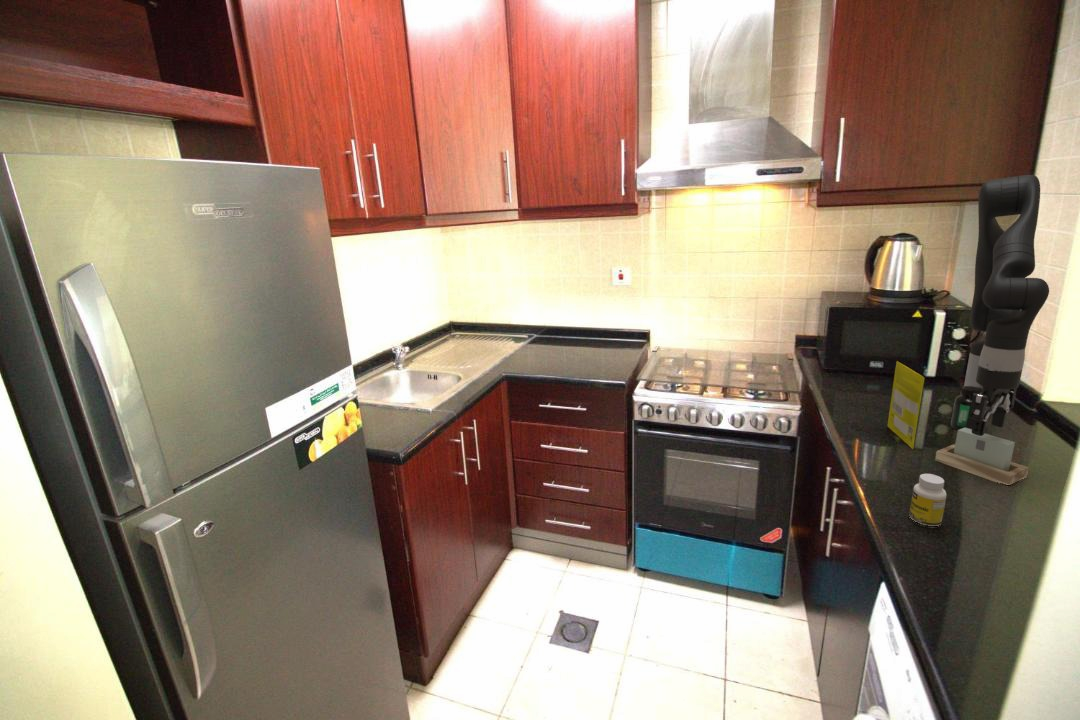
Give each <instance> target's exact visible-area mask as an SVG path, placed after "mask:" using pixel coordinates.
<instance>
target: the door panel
mask: <svg viewBox="0 0 1080 720" xmlns="http://www.w3.org/2000/svg"><path fill="white" fill-rule="evenodd" d="M955 438H956V439H955V443H954V444H955V449H954V454H956V455H959V456H962V457H965V458H968V459H971V460H974V461H977V462H980V463H983V464H986V465H989V466H992V467H995V468H998V469H1000V470H1003V471H1006V472H1009V468H1010V463H1011V462H1012V458H1013V454H1014V449H1015V444H1016V442H1015V441H1012V440H1009V439H1005V438H1002V437H999V436H995V435H991V434H989V433H984V435H983V436H979V435H975V434H973V433H972V429H968V428H962V429H960V430H957V433H956V437H955Z"/></svg>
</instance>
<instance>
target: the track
mask: <svg viewBox="0 0 1080 720" xmlns="http://www.w3.org/2000/svg"><path fill="white" fill-rule="evenodd" d="M954 449H955V443H953V444H951V445H948V446H946V447H943V448H941V449H938V450H937V451H936V453H935V459H934V461H935V462H939V463H941V464H944V465H946V466H949V467H952V468H955V469H958V470H960V471H963V472H966V473H969V474H972V475H974V476H978V477H980V478H983V479H986V480H988V481H992V482H994V483H997V482H998V483H997V484H1000V483H1003V484H1006V485H1010V484H1013V483H1015V482H1017V481H1019V480H1021V479H1023V480H1025V479H1027V477H1028V473H1029V469H1030V467H1029V466H1025V465H1022V464H1020V463H1019V464H1018V463H1016V462H1013V461H1011V463H1010V468H1009V472H1006V471H1003V470H1000V469H998V468H995V467H992V466H989V465H986V464H983V463H980V462H977V461H974V460H971V459H968V458H965V457H962V456H959V455H956V454H954ZM1024 478H1025V479H1024ZM1021 481H1022V480H1021ZM1019 482H1020V481H1019ZM1017 483H1018V482H1017ZM1015 484H1016V483H1015ZM1013 485H1014V484H1013Z"/></svg>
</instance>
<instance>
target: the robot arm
mask: <svg viewBox="0 0 1080 720" xmlns="http://www.w3.org/2000/svg"><path fill="white" fill-rule="evenodd" d="M1040 199H1041V183H1040V179H1039V177H1038V176H1036V175H1034V174H1024V175H1018V176H1017V175H1016V176H1009V177H1003V178H1002V177H1001V178H994V179H989V180H987V181H985V182H984V183H983V184H982V185H981V187H980V190H979V195H978V206H977V207H978V212H977V213H978V235H977V236H978V237H977V238H978V239H977V247H976V255H975V264H974V289H973V290H974V291H973V298H972V302H971V303H972V304H971V308H970V309H971V310H970V316H969V325H970V328H971V329H972V330H973V331H977V332H983V333H985V337H984V340H982V341H977V342H973V343H972V344H971V346H970V351H969V355H968V356H969V357H968V362H967V367H966V371H965V372H966V373H965V378H964V379H965V380H964V383H963V384H964V385H963V387H964V386H974V387H979V388H982V392H981V393H980V394H976V393H974V394H973V397H972V402H971V406H970V411H969V415H968V417H969V418H972V419H974V422H973V427H972V433H973V434H975V435H979V436H983V435H984V433H985V432H986V429H987V428H986V427H987V424H988V423H987V422H988V419H989V417H990V415H992V419H991V423H990V424H991V426H994V427H998V428H1003V427H1004V426H1005V423H1006V422H1005V421H1006V418H1007V413H1009V412H1010V409H1013V408H1014V406H1015V401H1016V394H1017V390H1018V388H1019V387H1020V382H1021V378H1022V373H1023V369H1024V364H1025V359H1026V357H1025V356H1026V347H1027V341H1028V338H1029V333H1030V329H1031V327H1032V325H1033V323H1034V321H1035V319H1036V317H1037V316H1038V315H1039V314H1038V313H1039V312H1040V311H1041V309H1042V308H1043V306H1044V304H1045V303H1046V301H1047V300H1048V297H1049V294H1050V287H1049V284H1048V283H1047V282H1046V281H1045V280H1044V279H1042V278H1040V277H1029V276H1030V275H1032V274H1033V272H1034V271H1035V269H1036V257H1035V256H1036V255H1035V237H1036V230H1037V226H1038V218H1039V209H1040V204H1041V203H1040ZM1016 215H1017V216H1018V215H1019V216H1018V218H1017V219H1016V220H1015V221H1014V222H1013V223H1012V224H1011V225H1010V226H1009V227H1008V228H1007V229H1006V230H1004V229H1003V228H1002V227H1001V226H1000V224H999V223H998V221H997V219H996V218H997V217H1008V216H1016ZM975 409H976V410H975ZM974 411H975V412H974ZM979 413H980V414H979ZM978 414H979V415H978ZM984 414H985V415H984ZM985 434H986V433H985Z"/></svg>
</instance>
